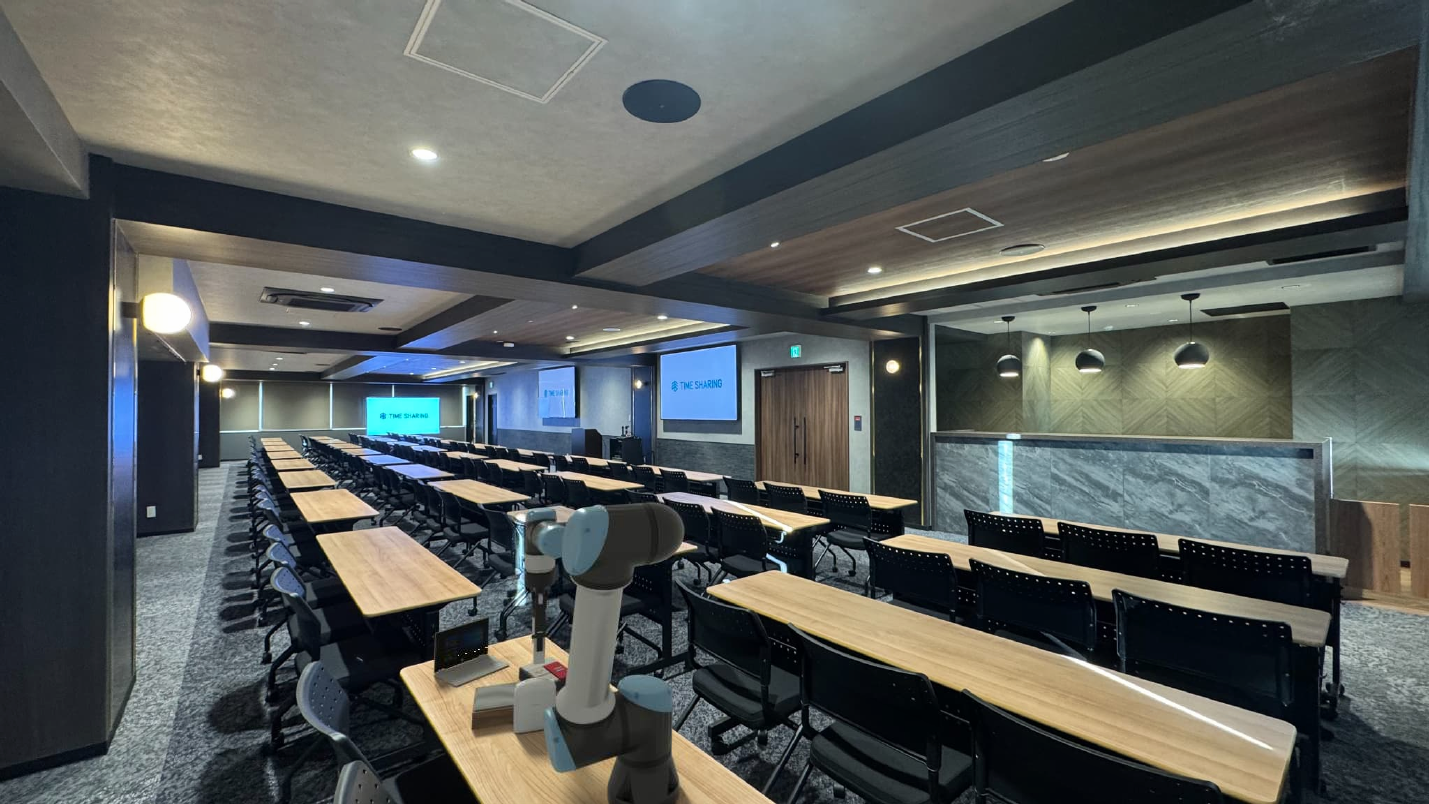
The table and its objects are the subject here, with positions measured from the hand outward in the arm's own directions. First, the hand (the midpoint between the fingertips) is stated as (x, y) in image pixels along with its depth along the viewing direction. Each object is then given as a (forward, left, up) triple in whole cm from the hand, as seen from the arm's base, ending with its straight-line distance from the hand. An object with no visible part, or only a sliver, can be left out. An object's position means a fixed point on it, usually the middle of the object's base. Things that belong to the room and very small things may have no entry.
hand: (538, 652), depth 144 cm
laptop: (+39, +18, -19) cm, 46 cm away
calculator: (+24, -4, -19) cm, 31 cm away
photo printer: (-1, 0, -19) cm, 19 cm away
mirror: (+10, +8, -19) cm, 23 cm away
